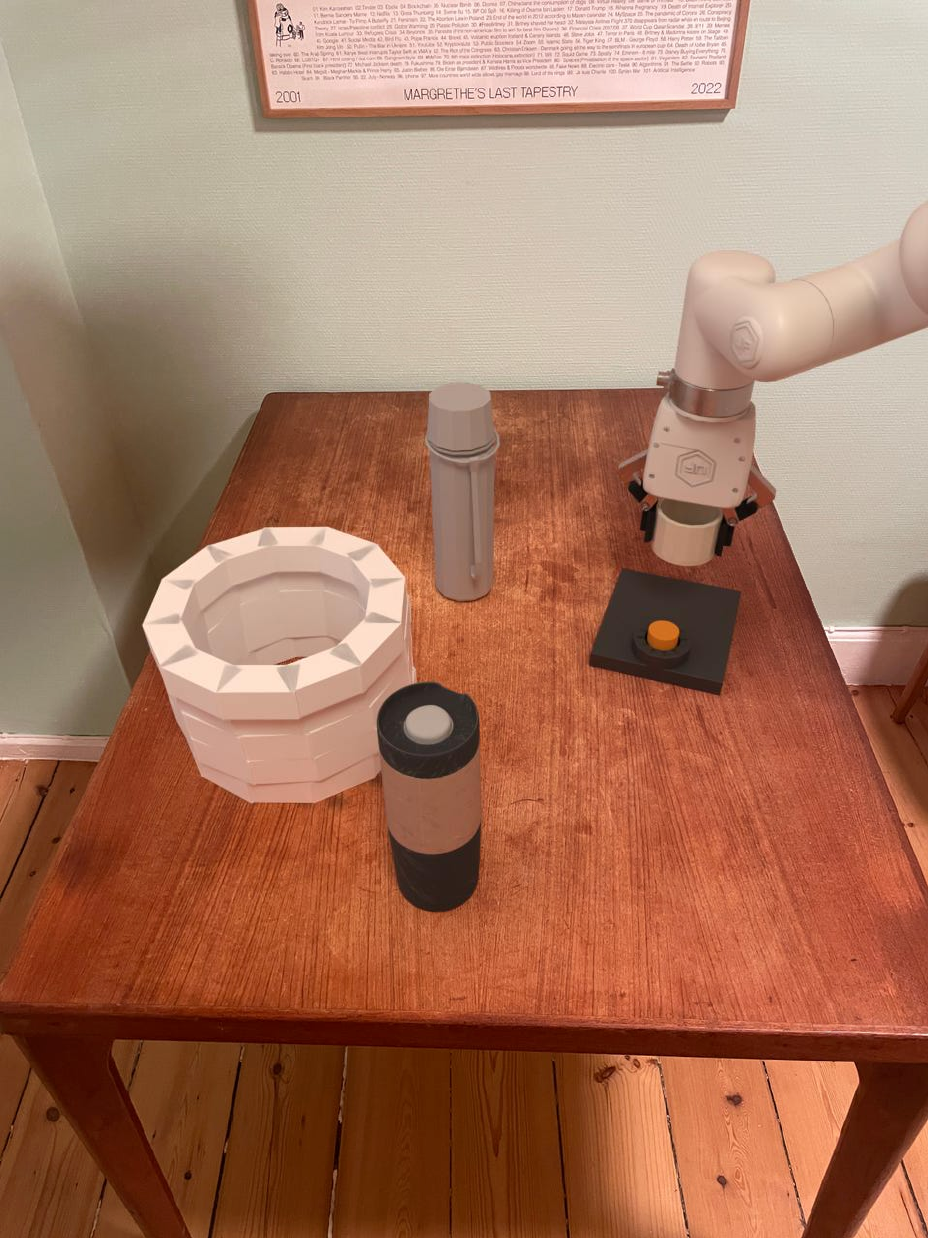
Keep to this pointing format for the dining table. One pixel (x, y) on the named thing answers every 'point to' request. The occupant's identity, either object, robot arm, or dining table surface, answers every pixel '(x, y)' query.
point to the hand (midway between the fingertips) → (684, 541)
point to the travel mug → (432, 792)
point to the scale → (683, 603)
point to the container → (283, 659)
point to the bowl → (685, 532)
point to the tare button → (663, 635)
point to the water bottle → (462, 488)
